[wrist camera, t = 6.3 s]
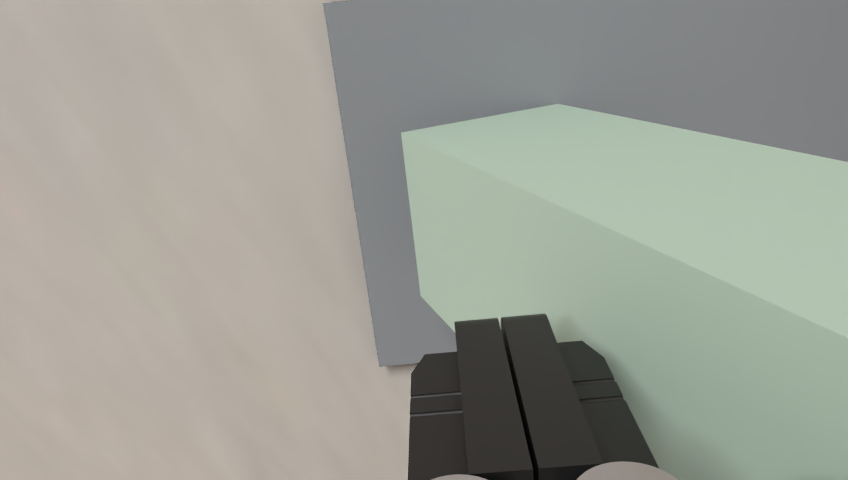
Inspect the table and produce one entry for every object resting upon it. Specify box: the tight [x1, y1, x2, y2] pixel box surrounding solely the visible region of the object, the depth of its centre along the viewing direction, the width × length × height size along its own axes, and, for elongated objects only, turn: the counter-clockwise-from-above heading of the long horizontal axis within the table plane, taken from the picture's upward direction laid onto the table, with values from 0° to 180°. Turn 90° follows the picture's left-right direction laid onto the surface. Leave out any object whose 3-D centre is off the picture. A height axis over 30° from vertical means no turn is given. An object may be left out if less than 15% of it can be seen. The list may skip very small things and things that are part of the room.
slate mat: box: [323, 0, 848, 367], centre depth 20 cm, size 12×24×1 cm, turn 96°
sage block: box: [401, 104, 848, 480], centre depth 13 cm, size 5×5×14 cm
